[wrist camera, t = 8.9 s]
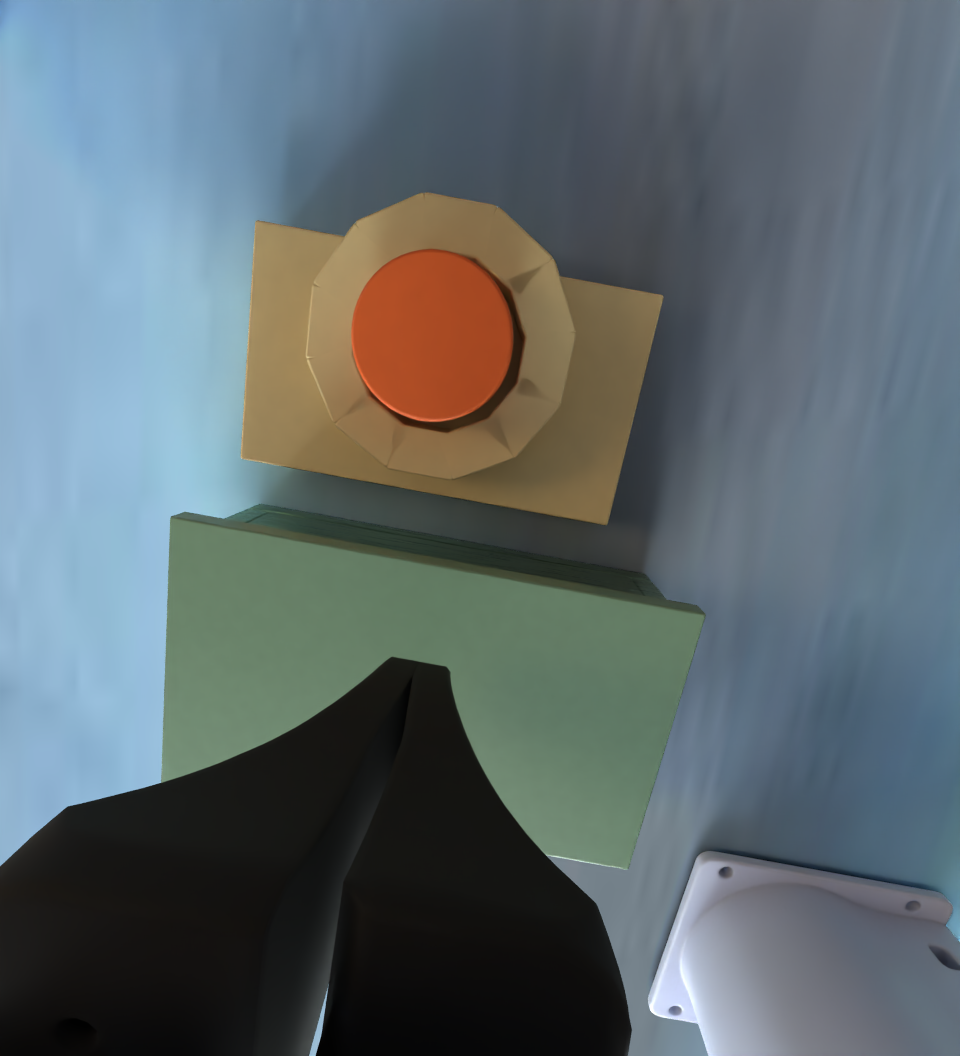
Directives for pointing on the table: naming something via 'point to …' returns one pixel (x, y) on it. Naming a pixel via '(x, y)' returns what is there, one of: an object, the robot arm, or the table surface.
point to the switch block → (479, 437)
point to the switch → (432, 335)
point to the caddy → (448, 549)
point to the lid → (437, 638)
